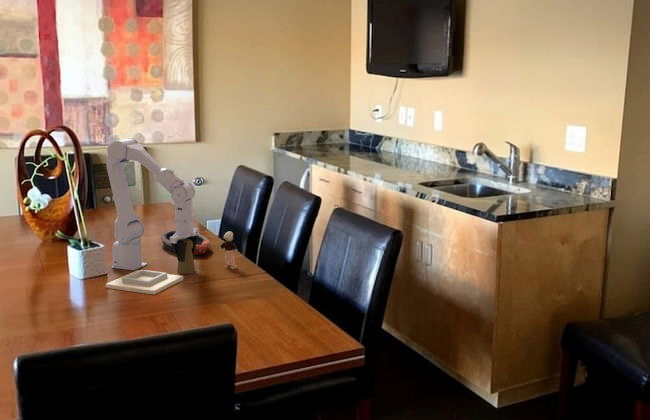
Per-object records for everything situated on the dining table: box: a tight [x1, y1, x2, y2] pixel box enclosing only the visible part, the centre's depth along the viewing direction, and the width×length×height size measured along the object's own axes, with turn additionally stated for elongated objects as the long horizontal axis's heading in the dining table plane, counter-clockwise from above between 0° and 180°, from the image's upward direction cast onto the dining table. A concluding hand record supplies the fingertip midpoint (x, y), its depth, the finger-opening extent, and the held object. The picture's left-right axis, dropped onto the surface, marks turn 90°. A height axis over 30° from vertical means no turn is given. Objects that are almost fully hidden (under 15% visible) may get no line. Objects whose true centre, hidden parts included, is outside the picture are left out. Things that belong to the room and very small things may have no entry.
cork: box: [176, 239, 196, 275], centre depth 228 cm, size 6×6×11 cm
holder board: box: [105, 269, 184, 295], centre depth 216 cm, size 18×16×3 cm
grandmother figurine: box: [219, 231, 239, 270], centre depth 233 cm, size 8×4×13 cm, turn 71°
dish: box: [160, 229, 211, 256], centre depth 258 cm, size 16×31×5 cm, turn 32°
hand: (185, 259), depth 229 cm, fingers closed on cork, 5 cm apart
